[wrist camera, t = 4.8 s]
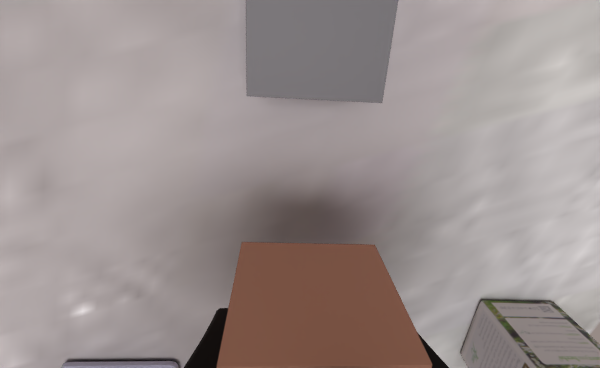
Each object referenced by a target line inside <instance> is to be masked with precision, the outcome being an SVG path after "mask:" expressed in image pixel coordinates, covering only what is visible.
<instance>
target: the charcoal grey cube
mask: <svg viewBox="0 0 600 368" xmlns="http://www.w3.org/2000/svg"><path fill="white" fill-rule="evenodd" d="M397 5H398V0H246V77H247V96H254V97H274V98H293V99H313V100H332V101H352V102H371V103H382V101H383V95H384V88H385V82H386V75H387V69H388V63H389V56H390V50H391V43H392V37H393V30H394V24H395V18H396V11H397Z"/></svg>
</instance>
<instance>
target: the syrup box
mask: <svg viewBox="0 0 600 368" xmlns="http://www.w3.org/2000/svg"><path fill="white" fill-rule="evenodd" d="M461 356H462V358H463V360H464V361H465V363H466V365H467V366H468V368H600V344H599V343H598V342H597V341H596V340H595V339H593V337H591V336H590V335H589V334H588V333H587V332H586V331H585V330H584V329H583V328H581V327H580V326H579V325H578V324H577V323H576V322H575V321H574V320H573V319H571V318H570V316H568V315H567V314H566V313H565V312H564V311H563V310H562V309H561V308H559V307H558V306H557V305H556V304H555V303H554V302H545V301H494V300H486V301H485V300H483V301H481V302H480V304H479V306H478V309H477V311H476V313H475V315H474V318H473V320H472V323H471V326H470V329H469V331H468V334H467V337H466V340H465V343H464V345H463V348H462V351H461Z"/></svg>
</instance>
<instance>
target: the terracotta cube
mask: <svg viewBox="0 0 600 368" xmlns="http://www.w3.org/2000/svg"><path fill="white" fill-rule="evenodd" d="M217 368H432V363H431V361H430V358H429V356H428V354H427V352H426V350H425V348H424V346H423V344H422V342H421V340H420V338H419V336H418V334H417V331H416V329H415V327H414V325H413V323H412V321H411V319H410V317H409V315H408V313H407V311H406V309H405V307H404V304H403V302H402V300H401V298H400V296H399V294H398V292H397V290H396V288H395V286H394V284H393V282H392V280H391V277H390V275H389V273H388V271H387V269H386V267H385V265H384V263H383V261H382V259H381V257H380V255H379V253H378V250H377V248H376V246H375V245H365V244H312V243H258V242H242V244H241V249H240V254H239V259H238V264H237V268H236V273H235V278H234V283H233V288H232V293H231V298H230V303H229V308H228V313H227V318H226V323H225V328H224V333H223V338H222V343H221V348H220V353H219V358H218V362H217Z"/></svg>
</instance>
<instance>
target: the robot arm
mask: <svg viewBox="0 0 600 368" xmlns="http://www.w3.org/2000/svg"><path fill="white" fill-rule="evenodd" d="M227 313H228V308H220V309H218V310H217V311H216V313H215V316H214V318H213V320H212V322H211V323H210V325H209V327H208V329H207V331H206V333H205V334H204V336H203V338H202V340H201V341H200V343H199V345H198V346H197V348H196V349H195V351H194V353H193V354H192V356H191V357H190V359H189V360H188V362H187V364H186V365H185V367H184V368H217V362H218V358H219V353H220V348H221V343H222V338H223V333H224V328H225V323H226V318H227ZM417 334H418V333H417ZM418 336H419V338H420V340H421V342H422V344H423V346H424V348H425V350H426V352H427V354H428V356H429V358H430V361H431V363H432V368H449V367H448V366H447V365H446V364H445V363H444V362H443V361H442V360H441V359H440V357H439V356H438V355H437V354H436V353H435V352H434V351H433V350H432V349H431V348H430V346H429V345H428V344H427V343H426V342H425V341H424V340H423V338H422V337H421V336H420V335H419V334H418ZM61 368H179V367H178V364H177V363H176V362H174V361H119V362H66V363H64V364H63V365H62V367H61Z"/></svg>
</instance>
